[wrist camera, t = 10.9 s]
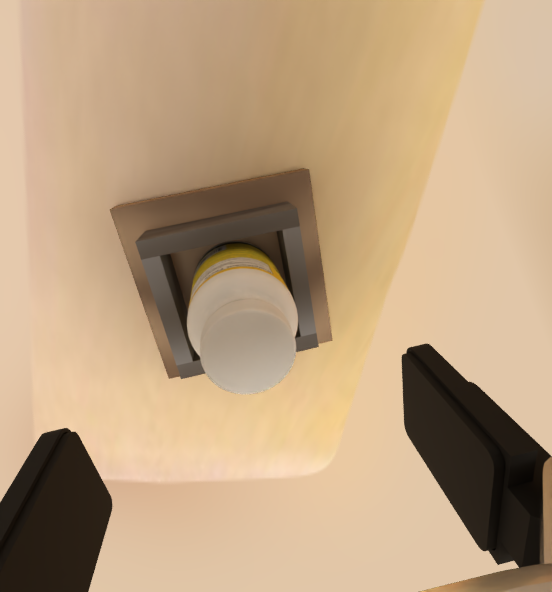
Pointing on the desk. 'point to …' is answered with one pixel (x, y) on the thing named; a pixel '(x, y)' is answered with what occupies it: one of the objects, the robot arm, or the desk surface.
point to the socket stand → (211, 232)
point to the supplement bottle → (242, 319)
